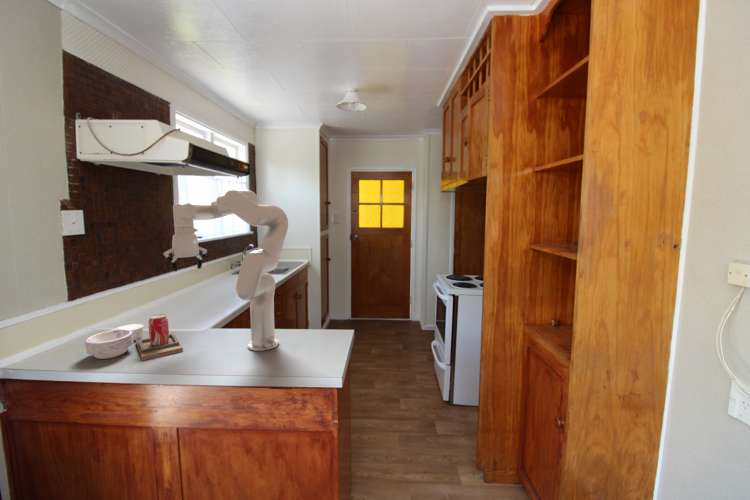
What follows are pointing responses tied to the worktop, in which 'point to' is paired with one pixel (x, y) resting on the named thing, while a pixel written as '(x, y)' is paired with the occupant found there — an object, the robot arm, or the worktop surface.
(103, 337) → the paper bowls
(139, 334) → the ramekin
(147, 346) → the tan board
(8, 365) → the worktop surface
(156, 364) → the worktop surface
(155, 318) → the soda can
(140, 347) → the steel frame
